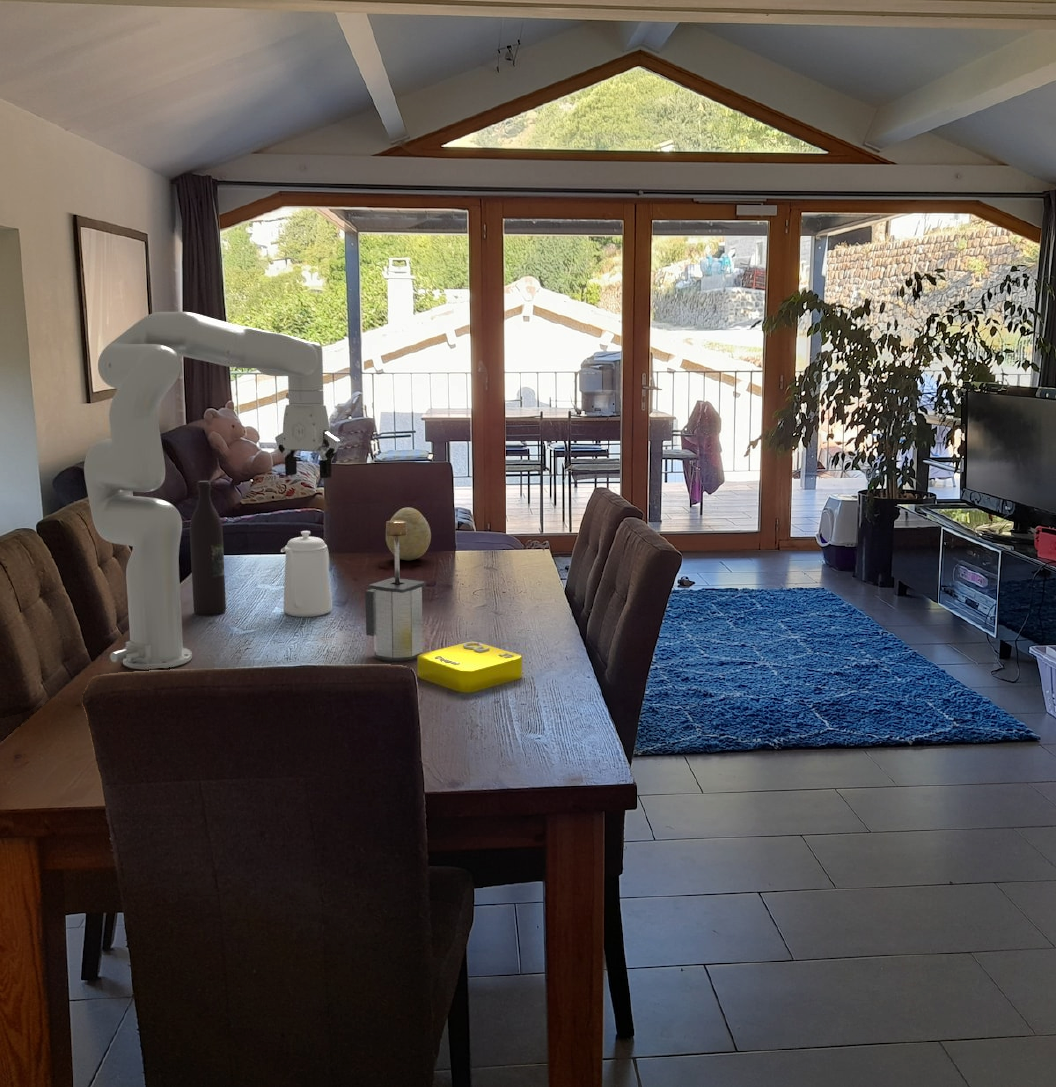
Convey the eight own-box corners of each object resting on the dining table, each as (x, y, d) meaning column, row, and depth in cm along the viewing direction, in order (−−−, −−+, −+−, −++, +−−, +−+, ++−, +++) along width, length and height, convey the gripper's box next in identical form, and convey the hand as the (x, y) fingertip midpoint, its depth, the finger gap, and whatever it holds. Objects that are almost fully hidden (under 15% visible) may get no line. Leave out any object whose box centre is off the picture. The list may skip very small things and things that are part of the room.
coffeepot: (260, 625, 235) (257, 540, 232) (306, 598, 260) (304, 521, 256) (307, 628, 233) (305, 542, 230) (349, 601, 257) (347, 523, 254)
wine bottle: (216, 617, 242) (210, 483, 236) (187, 615, 243) (181, 482, 238) (231, 609, 249) (226, 479, 243) (203, 608, 250) (197, 478, 244)
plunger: (401, 600, 206) (400, 526, 204) (373, 596, 210) (372, 523, 207) (421, 594, 212) (420, 521, 210) (393, 590, 215) (392, 518, 213)
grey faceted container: (404, 665, 207) (403, 590, 204) (355, 656, 212) (353, 583, 210) (430, 653, 215) (430, 581, 212) (383, 645, 220) (382, 575, 218)
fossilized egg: (414, 553, 316) (414, 502, 313) (439, 560, 306) (439, 508, 303) (377, 558, 308) (376, 506, 305) (402, 566, 298) (401, 512, 296)
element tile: (412, 677, 201) (412, 652, 200) (473, 661, 211) (473, 637, 210) (466, 696, 190) (466, 670, 190) (527, 678, 201) (527, 653, 200)
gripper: (264, 398, 238) (266, 475, 241) (326, 400, 230) (328, 480, 233) (286, 397, 245) (288, 472, 248) (348, 399, 237) (350, 477, 240)
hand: (308, 476), depth 240 cm, fingers open, 9 cm apart
